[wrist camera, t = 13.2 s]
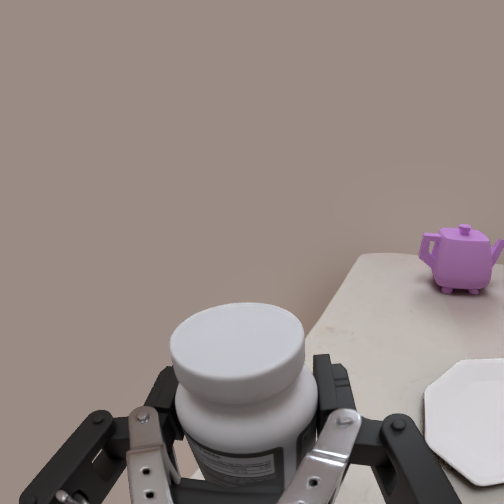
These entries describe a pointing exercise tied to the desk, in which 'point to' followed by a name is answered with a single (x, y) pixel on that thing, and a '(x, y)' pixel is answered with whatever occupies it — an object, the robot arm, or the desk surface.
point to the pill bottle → (245, 393)
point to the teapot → (460, 258)
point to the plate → (468, 419)
